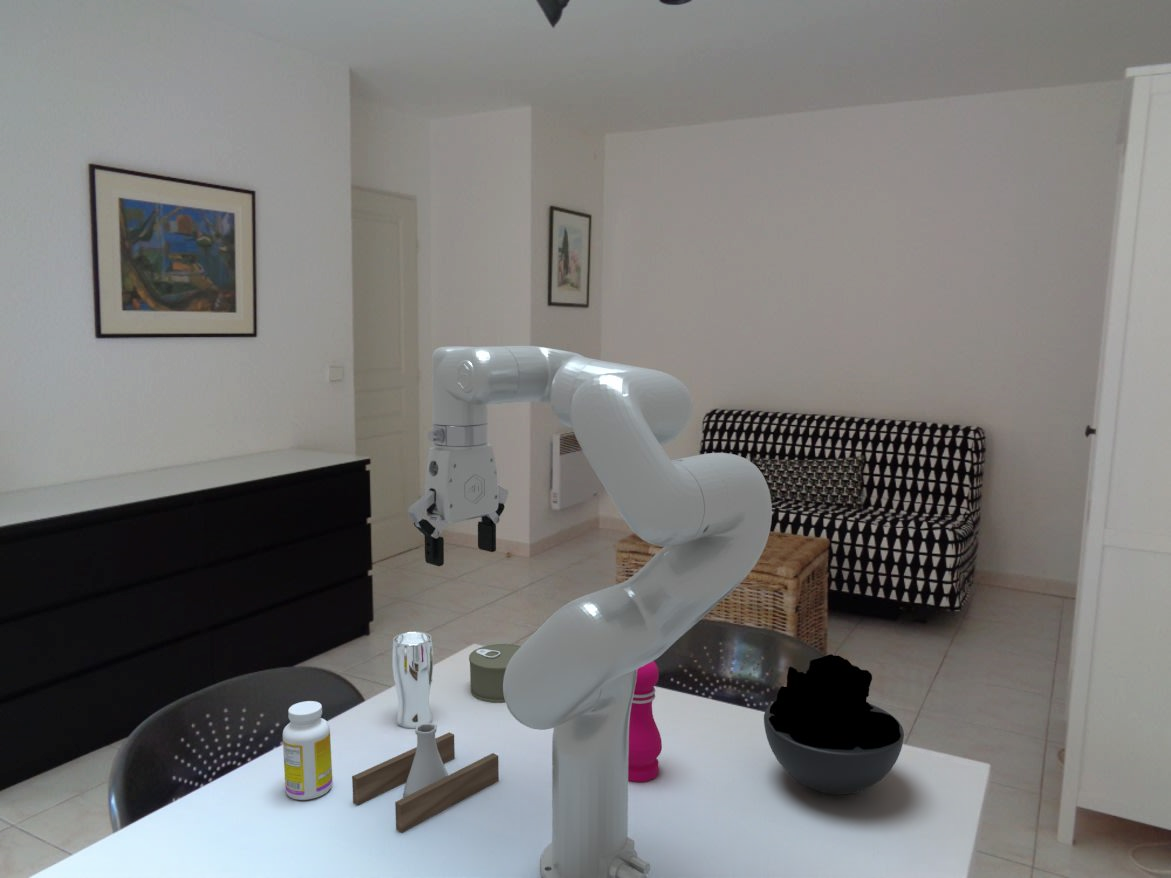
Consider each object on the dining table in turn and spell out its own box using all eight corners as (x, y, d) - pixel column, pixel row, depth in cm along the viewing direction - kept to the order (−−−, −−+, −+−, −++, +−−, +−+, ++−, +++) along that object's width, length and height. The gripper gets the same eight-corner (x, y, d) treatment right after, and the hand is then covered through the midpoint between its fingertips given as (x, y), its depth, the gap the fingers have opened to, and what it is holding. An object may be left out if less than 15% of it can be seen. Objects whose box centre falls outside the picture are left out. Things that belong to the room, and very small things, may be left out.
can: (508, 709, 154) (508, 672, 153) (456, 694, 160) (455, 659, 159) (545, 685, 164) (545, 651, 163) (494, 672, 170) (494, 639, 169)
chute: (498, 780, 129) (498, 755, 129) (401, 832, 116) (400, 805, 115) (449, 755, 137) (449, 732, 136) (353, 802, 123) (352, 776, 123)
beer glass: (390, 716, 151) (387, 634, 149) (428, 708, 153) (427, 628, 152) (398, 733, 144) (396, 647, 142) (439, 725, 147) (437, 641, 145)
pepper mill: (606, 776, 130) (607, 651, 128) (626, 756, 137) (627, 636, 134) (650, 788, 127) (651, 660, 124) (668, 766, 133) (670, 644, 131)
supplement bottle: (332, 775, 131) (328, 695, 129) (333, 797, 124) (329, 714, 123) (285, 782, 129) (282, 701, 127) (284, 805, 122) (280, 720, 121)
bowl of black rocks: (895, 761, 135) (901, 647, 133) (906, 833, 116) (913, 701, 113) (766, 745, 140) (769, 635, 138) (757, 810, 121) (760, 684, 119)
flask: (441, 807, 122) (440, 741, 121) (394, 802, 123) (392, 736, 122) (459, 781, 129) (458, 718, 128) (414, 776, 130) (412, 714, 129)
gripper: (428, 445, 109) (430, 575, 111) (523, 433, 122) (523, 549, 124) (392, 439, 113) (394, 564, 116) (487, 428, 126) (488, 541, 129)
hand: (461, 556), depth 120 cm, fingers open, 9 cm apart
